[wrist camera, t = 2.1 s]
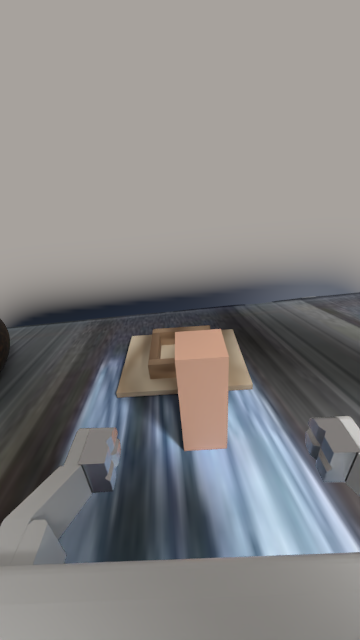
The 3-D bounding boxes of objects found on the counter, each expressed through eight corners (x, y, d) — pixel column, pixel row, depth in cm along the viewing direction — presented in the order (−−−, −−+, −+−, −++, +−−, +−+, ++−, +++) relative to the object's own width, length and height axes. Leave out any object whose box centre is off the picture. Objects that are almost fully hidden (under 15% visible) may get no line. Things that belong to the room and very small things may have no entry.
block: (220, 414, 31) (220, 328, 26) (226, 448, 27) (228, 356, 22) (183, 416, 32) (175, 332, 26) (184, 450, 28) (174, 360, 22)
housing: (232, 333, 47) (232, 316, 45) (252, 389, 35) (253, 369, 33) (132, 339, 47) (129, 324, 46) (117, 397, 35) (112, 378, 33)
